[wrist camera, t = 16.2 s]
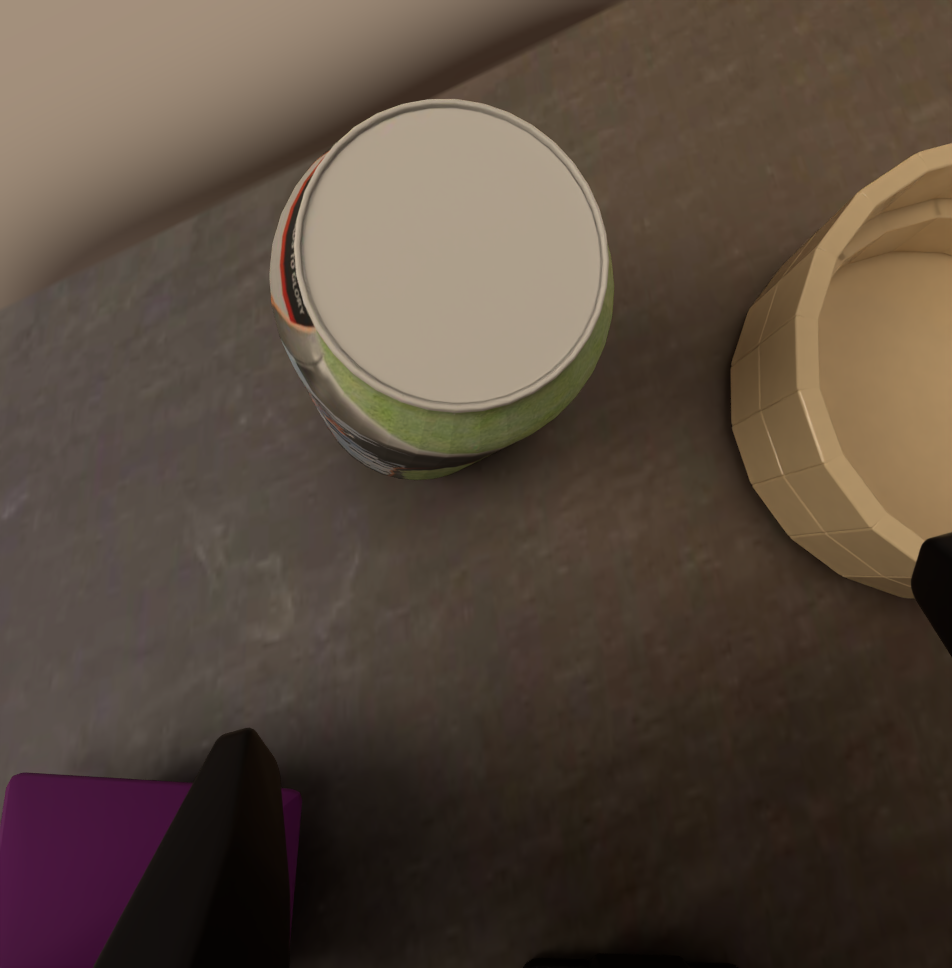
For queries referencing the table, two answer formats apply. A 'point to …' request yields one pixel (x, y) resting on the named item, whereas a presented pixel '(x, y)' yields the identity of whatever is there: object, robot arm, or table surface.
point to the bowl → (857, 380)
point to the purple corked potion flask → (85, 860)
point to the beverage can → (441, 285)
